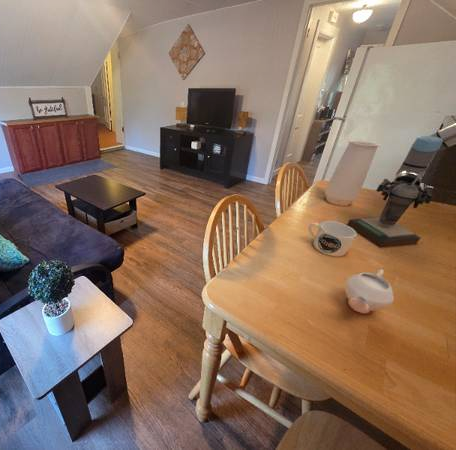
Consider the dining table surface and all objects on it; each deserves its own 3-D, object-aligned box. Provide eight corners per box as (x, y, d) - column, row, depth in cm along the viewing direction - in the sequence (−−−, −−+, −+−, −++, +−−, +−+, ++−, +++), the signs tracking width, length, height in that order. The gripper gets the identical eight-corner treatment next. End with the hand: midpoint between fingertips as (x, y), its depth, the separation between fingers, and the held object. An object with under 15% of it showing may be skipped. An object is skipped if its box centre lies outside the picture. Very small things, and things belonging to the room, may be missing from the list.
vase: (349, 210, 110) (380, 147, 96) (318, 200, 118) (342, 141, 103) (356, 201, 118) (386, 142, 103) (326, 193, 126) (350, 137, 111)
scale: (416, 244, 89) (422, 235, 87) (380, 247, 87) (385, 239, 85) (378, 222, 101) (383, 215, 99) (346, 225, 99) (350, 217, 97)
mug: (346, 245, 88) (356, 226, 83) (346, 261, 80) (357, 241, 76) (305, 233, 94) (312, 215, 90) (301, 247, 87) (308, 228, 82)
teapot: (391, 298, 67) (409, 273, 62) (367, 340, 57) (387, 314, 52) (351, 279, 74) (365, 255, 69) (323, 313, 63) (337, 288, 58)
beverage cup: (377, 215, 96) (405, 166, 85) (401, 223, 91) (433, 171, 80) (371, 222, 92) (400, 170, 81) (396, 230, 87) (430, 177, 76)
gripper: (436, 198, 92) (435, 220, 78) (370, 184, 104) (360, 200, 90) (448, 180, 88) (450, 200, 74) (379, 167, 100) (369, 182, 86)
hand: (401, 200), depth 82 cm, fingers closed on beverage cup, 7 cm apart
